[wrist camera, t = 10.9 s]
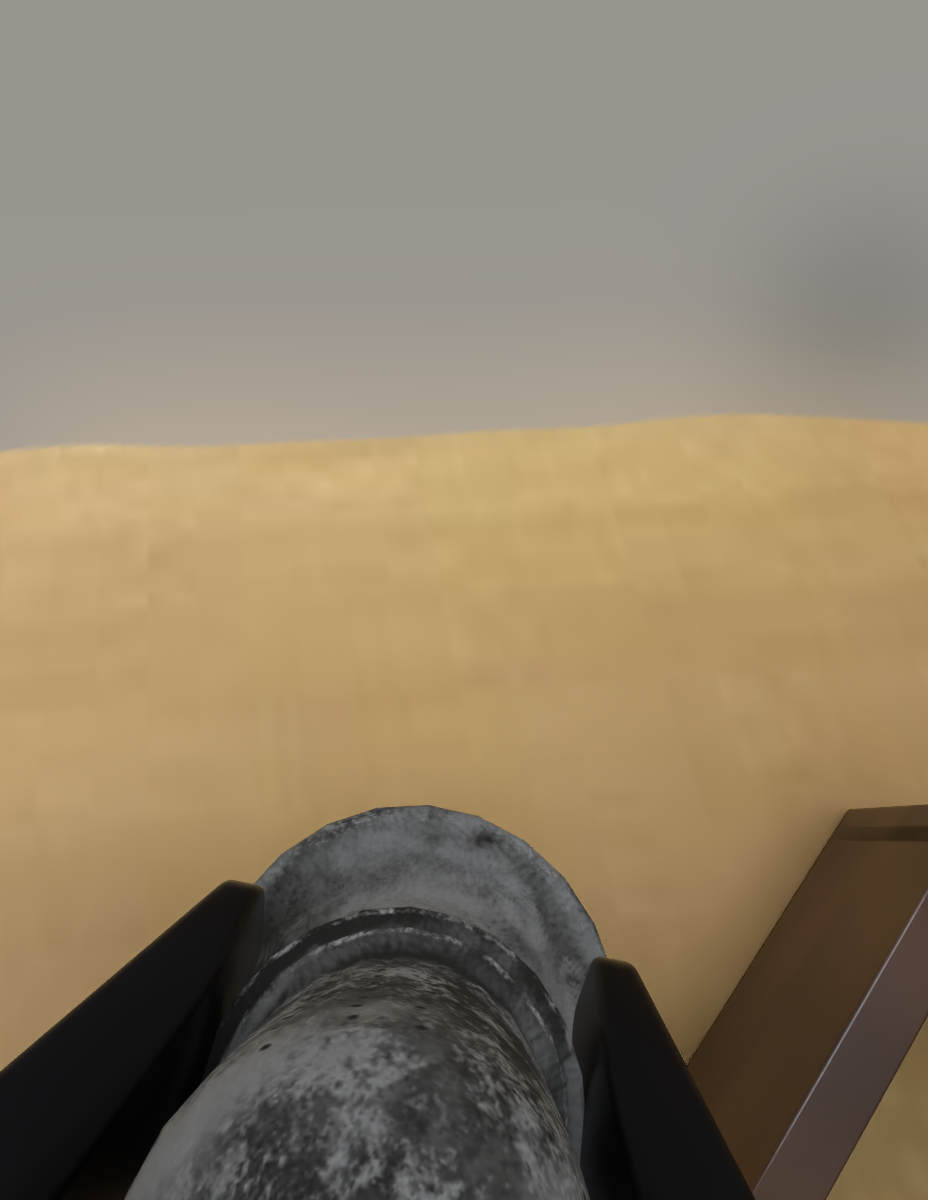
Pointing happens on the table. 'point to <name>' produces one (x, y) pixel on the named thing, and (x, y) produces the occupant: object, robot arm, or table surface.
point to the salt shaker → (396, 1027)
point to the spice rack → (824, 1009)
